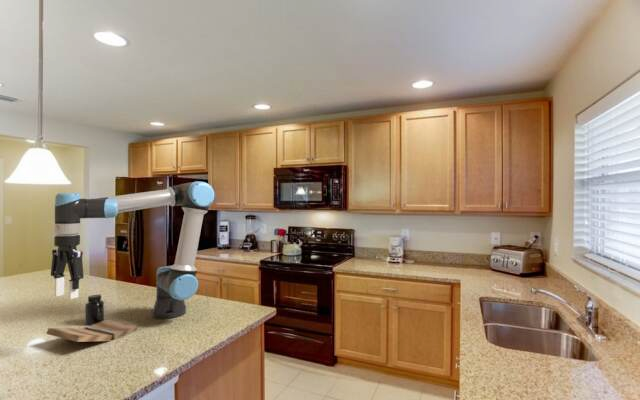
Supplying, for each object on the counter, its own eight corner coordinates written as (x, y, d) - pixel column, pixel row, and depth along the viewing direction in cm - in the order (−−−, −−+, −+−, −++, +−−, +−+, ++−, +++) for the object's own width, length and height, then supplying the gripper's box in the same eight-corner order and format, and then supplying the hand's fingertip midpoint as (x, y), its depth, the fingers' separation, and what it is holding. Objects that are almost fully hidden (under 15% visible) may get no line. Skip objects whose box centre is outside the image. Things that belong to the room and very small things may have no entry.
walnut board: (107, 324, 143) (107, 318, 143) (136, 330, 137) (136, 324, 137) (84, 332, 134) (84, 326, 134) (114, 339, 128) (114, 333, 128)
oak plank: (81, 333, 133) (82, 328, 134) (110, 340, 126) (112, 335, 127) (46, 333, 121) (48, 328, 122) (76, 341, 115) (78, 335, 115)
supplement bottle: (102, 318, 150) (102, 292, 150) (105, 322, 145) (105, 296, 145) (83, 322, 145) (84, 295, 145) (86, 326, 140) (87, 299, 140)
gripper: (38, 234, 120) (37, 296, 120) (74, 237, 112) (73, 303, 112) (61, 232, 127) (60, 291, 127) (96, 235, 119) (95, 297, 119)
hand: (66, 296), depth 120 cm, fingers open, 8 cm apart
